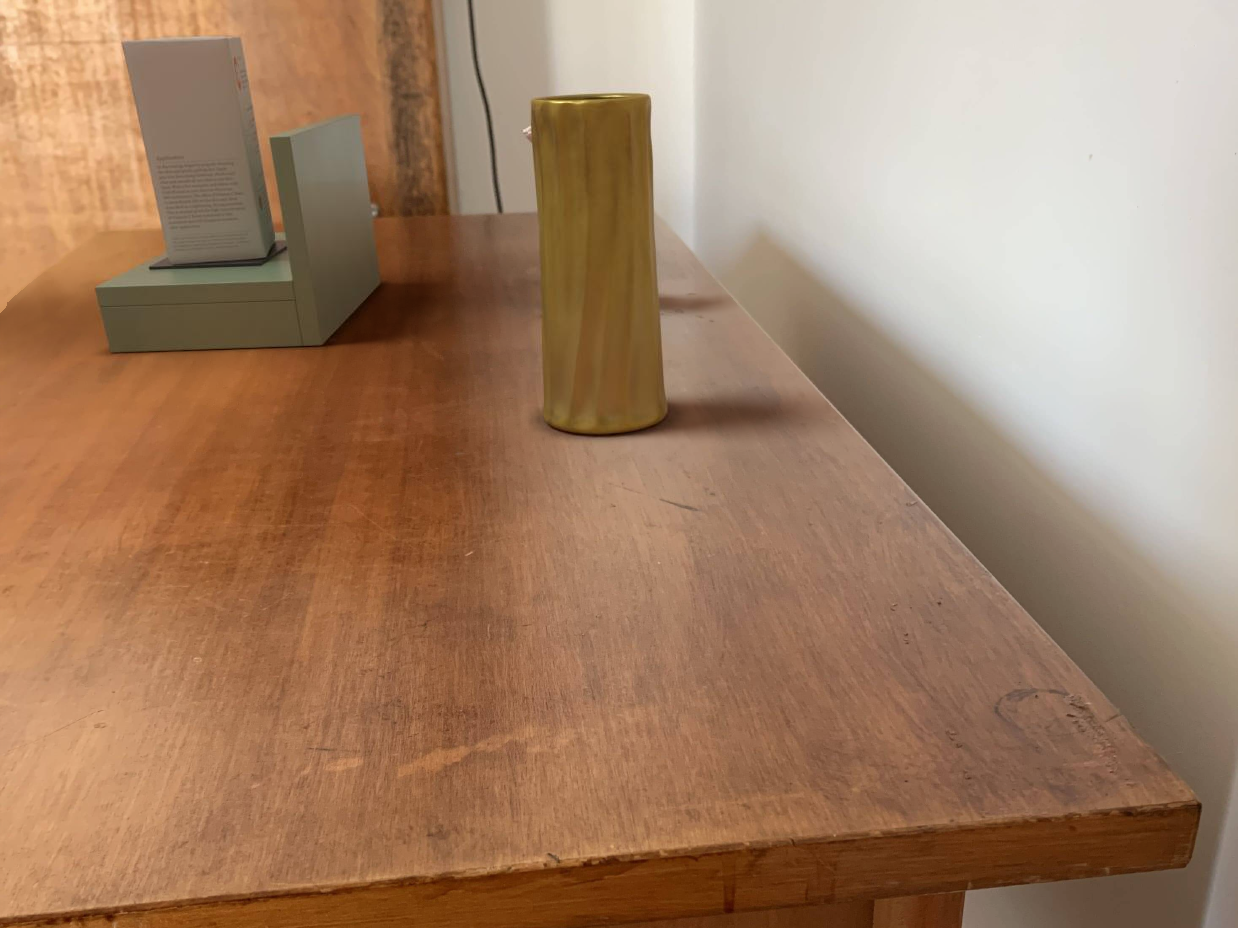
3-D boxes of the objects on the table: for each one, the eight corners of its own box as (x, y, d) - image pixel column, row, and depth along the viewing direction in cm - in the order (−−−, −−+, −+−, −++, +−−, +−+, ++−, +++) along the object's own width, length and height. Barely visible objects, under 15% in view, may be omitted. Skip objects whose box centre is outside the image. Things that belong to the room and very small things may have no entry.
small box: (184, 245, 82) (142, 38, 76) (277, 240, 83) (243, 35, 77) (166, 265, 75) (118, 39, 69) (268, 259, 76) (229, 35, 70)
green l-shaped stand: (110, 352, 72) (59, 143, 67) (210, 289, 90) (177, 119, 85) (322, 345, 72) (289, 136, 67) (381, 283, 90) (359, 113, 84)
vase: (518, 417, 58) (492, 99, 51) (614, 392, 61) (602, 91, 54) (594, 444, 53) (577, 102, 47) (693, 416, 57) (690, 93, 50)
